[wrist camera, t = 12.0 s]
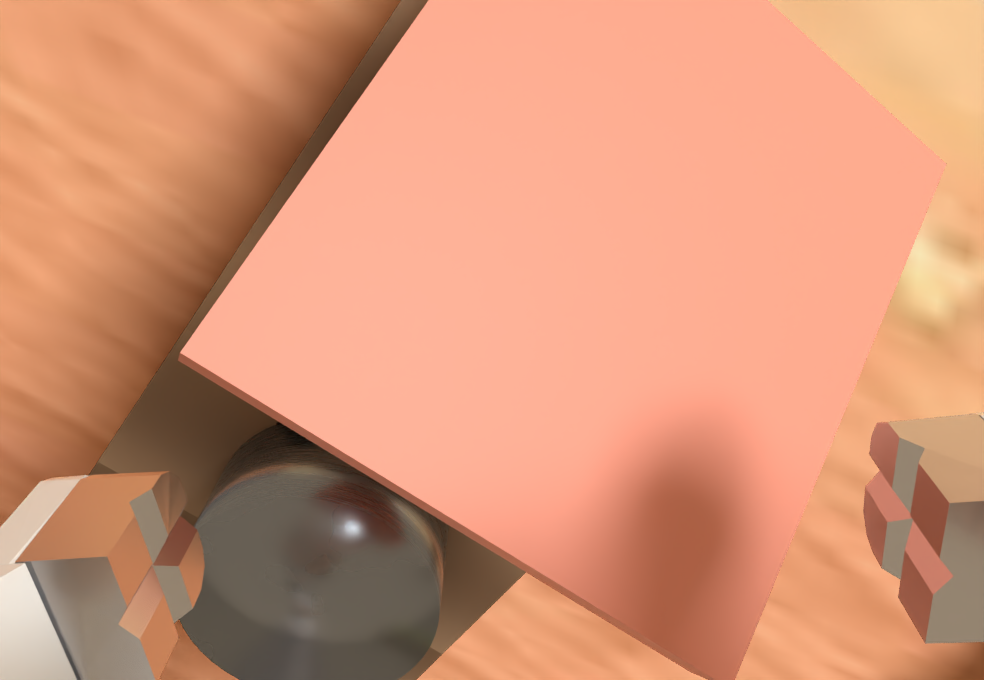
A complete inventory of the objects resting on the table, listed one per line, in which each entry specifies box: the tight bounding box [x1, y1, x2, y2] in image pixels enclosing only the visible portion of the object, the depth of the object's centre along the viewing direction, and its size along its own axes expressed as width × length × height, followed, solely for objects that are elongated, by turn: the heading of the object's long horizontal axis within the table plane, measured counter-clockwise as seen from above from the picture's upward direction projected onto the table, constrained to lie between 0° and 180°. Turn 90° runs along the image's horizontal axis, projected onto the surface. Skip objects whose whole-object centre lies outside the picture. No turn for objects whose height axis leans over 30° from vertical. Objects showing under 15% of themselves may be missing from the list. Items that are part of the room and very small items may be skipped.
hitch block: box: [89, 0, 526, 680], centre depth 21 cm, size 18×10×6 cm, turn 143°
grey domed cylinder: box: [179, 423, 449, 680], centre depth 21 cm, size 6×6×8 cm
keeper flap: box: [178, 0, 946, 680], centre depth 13 cm, size 10×9×1 cm
